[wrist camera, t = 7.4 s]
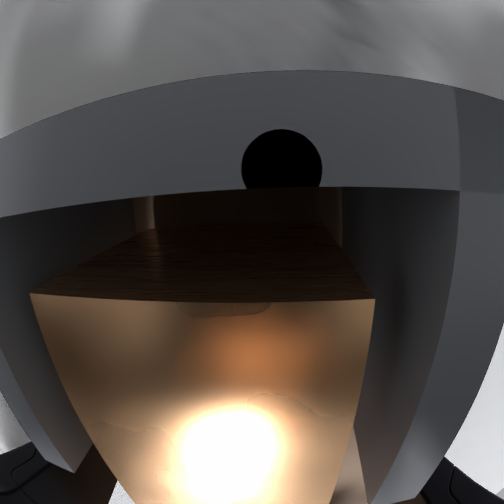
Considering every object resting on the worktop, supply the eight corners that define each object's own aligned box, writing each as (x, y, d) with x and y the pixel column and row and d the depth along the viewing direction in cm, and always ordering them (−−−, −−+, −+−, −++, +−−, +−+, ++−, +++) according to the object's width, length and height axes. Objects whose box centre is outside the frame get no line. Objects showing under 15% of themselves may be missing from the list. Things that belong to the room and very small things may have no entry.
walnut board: (331, 551, 14) (331, 555, 13) (197, 547, 15) (196, 550, 14) (444, 139, 6) (451, 139, 6) (54, 164, 7) (46, 165, 7)
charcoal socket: (363, 346, 8) (415, 497, 3) (132, 343, 8) (45, 459, 4) (373, 139, 6) (519, 106, 1) (103, 159, 7) (-59, 173, 2)
